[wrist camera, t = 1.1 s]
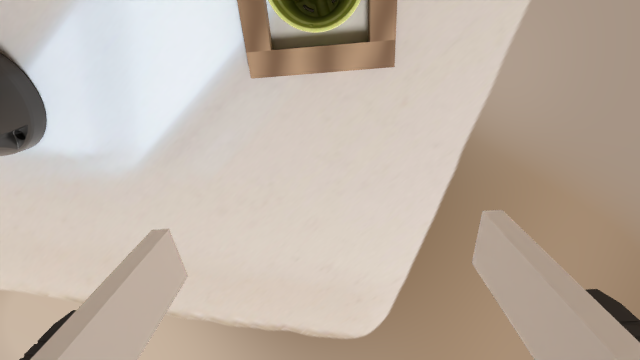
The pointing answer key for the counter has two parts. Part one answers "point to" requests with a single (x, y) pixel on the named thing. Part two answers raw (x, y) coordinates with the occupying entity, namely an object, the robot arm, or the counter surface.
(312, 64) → the walnut frame
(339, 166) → the counter surface
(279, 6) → the plant pot
